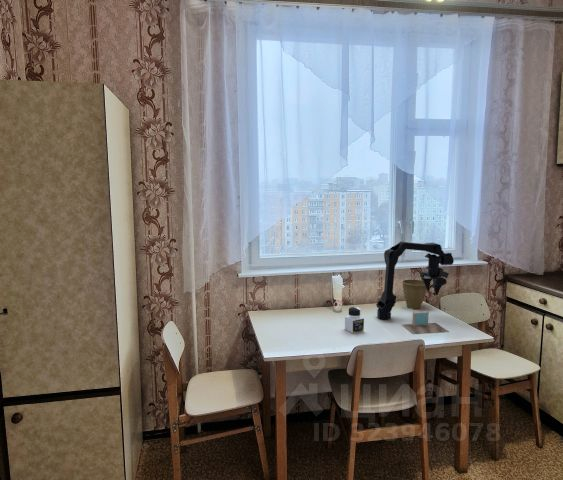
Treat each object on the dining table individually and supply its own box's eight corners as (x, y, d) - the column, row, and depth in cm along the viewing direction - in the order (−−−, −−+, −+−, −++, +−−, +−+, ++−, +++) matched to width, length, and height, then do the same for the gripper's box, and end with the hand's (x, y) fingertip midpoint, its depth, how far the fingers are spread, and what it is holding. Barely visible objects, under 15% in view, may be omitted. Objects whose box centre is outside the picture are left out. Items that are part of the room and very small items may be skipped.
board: (412, 336, 202) (412, 334, 202) (400, 326, 216) (400, 324, 216) (449, 334, 205) (450, 331, 205) (435, 324, 219) (435, 322, 219)
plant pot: (410, 312, 241) (411, 285, 238) (396, 304, 255) (397, 280, 253) (432, 309, 245) (433, 284, 242) (417, 302, 259) (418, 278, 257)
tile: (414, 326, 214) (414, 313, 213) (412, 324, 216) (412, 311, 215) (428, 325, 215) (428, 312, 214) (426, 323, 217) (426, 311, 216)
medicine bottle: (352, 333, 207) (353, 310, 205) (344, 329, 213) (344, 307, 211) (363, 331, 210) (364, 308, 208) (355, 327, 216) (355, 305, 214)
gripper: (456, 268, 218) (454, 296, 220) (438, 261, 236) (437, 287, 238) (437, 269, 216) (435, 297, 219) (420, 262, 235) (419, 288, 237)
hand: (432, 292), depth 228 cm, fingers open, 9 cm apart
